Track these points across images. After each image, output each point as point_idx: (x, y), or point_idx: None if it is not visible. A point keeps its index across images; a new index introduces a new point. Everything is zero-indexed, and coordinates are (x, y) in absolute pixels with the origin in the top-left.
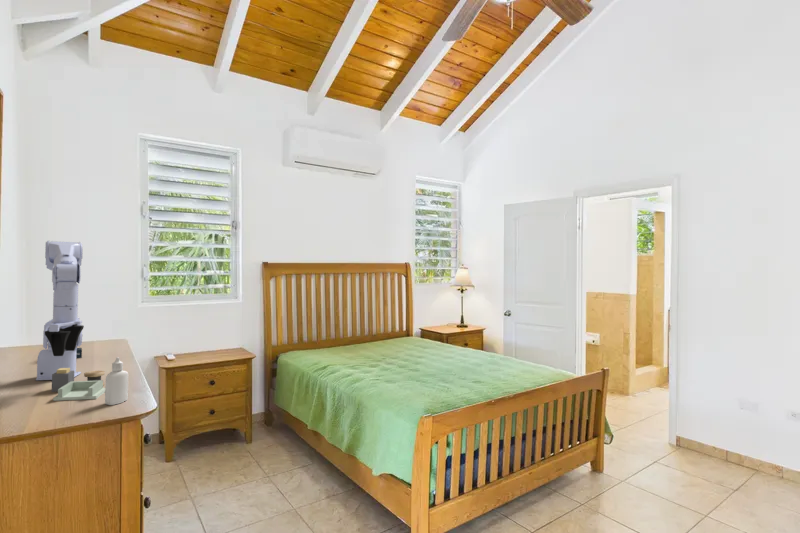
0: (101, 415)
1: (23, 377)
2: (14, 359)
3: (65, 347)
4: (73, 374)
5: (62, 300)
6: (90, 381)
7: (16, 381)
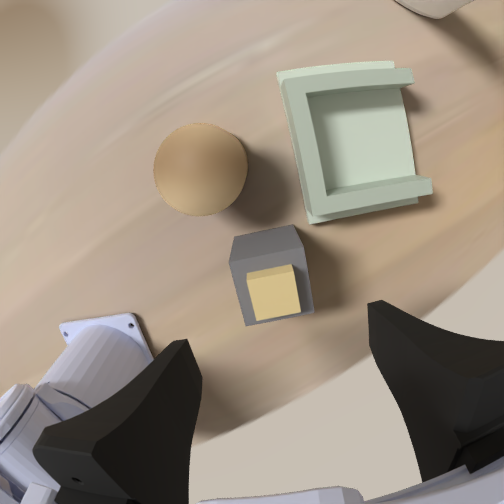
0: (499, 14)
1: None
2: None
3: (198, 394)
4: (239, 253)
5: None
6: (309, 125)
7: None
